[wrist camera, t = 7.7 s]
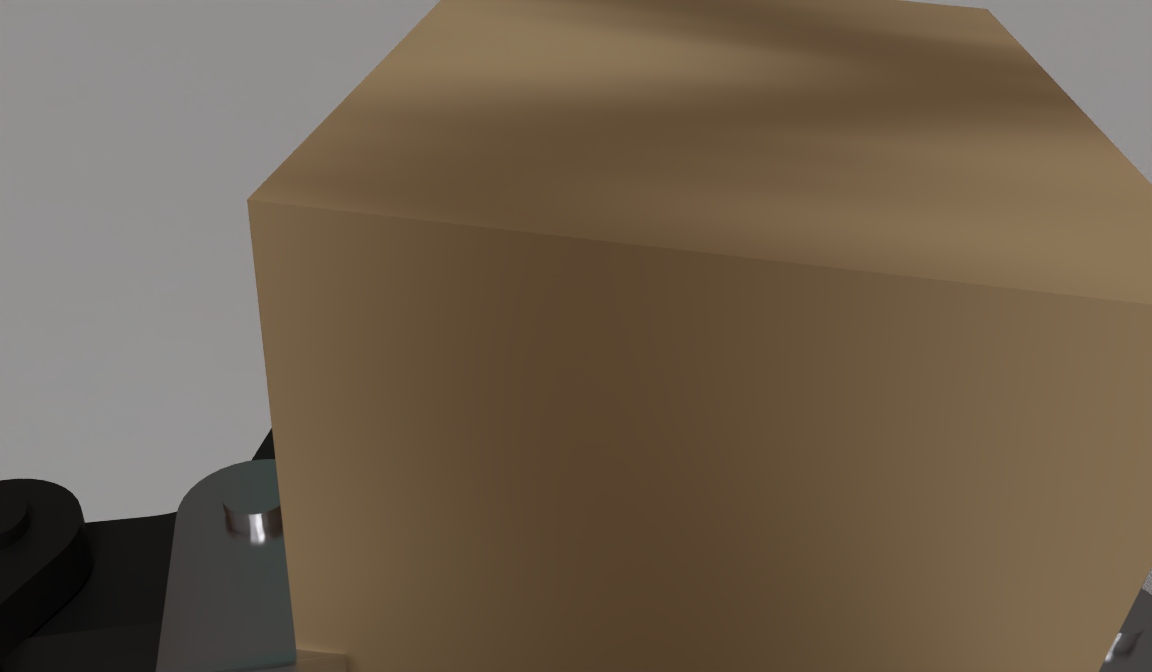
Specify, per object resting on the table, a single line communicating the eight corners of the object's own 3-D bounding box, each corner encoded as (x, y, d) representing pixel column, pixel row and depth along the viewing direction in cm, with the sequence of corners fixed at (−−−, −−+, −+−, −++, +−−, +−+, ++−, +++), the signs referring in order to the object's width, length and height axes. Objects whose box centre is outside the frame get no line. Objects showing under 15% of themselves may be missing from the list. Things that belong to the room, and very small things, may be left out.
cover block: (987, 9, 10) (1279, 319, 5) (809, 644, 15) (860, 1140, 10) (481, -42, 10) (244, 200, 5) (467, 596, 15) (340, 1052, 10)
